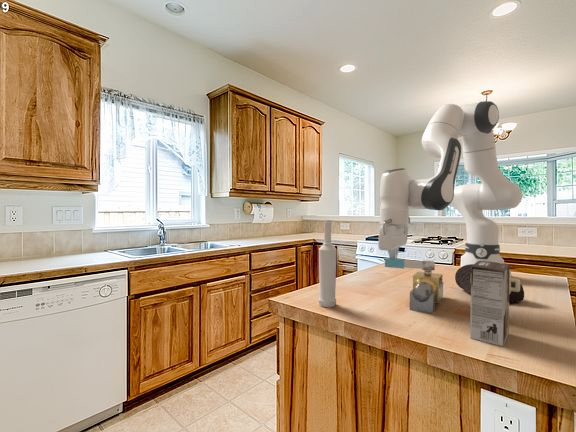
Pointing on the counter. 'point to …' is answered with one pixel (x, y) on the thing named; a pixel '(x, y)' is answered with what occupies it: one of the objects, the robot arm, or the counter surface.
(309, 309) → the counter surface
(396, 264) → the lever
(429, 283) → the valve pipe
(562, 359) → the counter surface
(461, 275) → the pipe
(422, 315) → the counter surface
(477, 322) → the coffee box
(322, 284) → the bottle
